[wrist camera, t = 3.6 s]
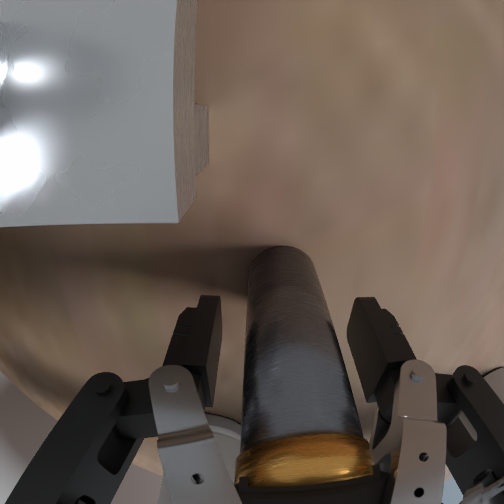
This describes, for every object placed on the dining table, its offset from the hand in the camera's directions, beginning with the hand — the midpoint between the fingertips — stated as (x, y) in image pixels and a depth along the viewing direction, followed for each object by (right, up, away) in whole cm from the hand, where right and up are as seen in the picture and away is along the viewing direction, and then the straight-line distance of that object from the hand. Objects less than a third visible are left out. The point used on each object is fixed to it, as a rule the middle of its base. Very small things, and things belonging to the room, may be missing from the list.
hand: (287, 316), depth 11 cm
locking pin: (0, +1, +3) cm, 3 cm away
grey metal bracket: (-14, +13, -3) cm, 20 cm away
